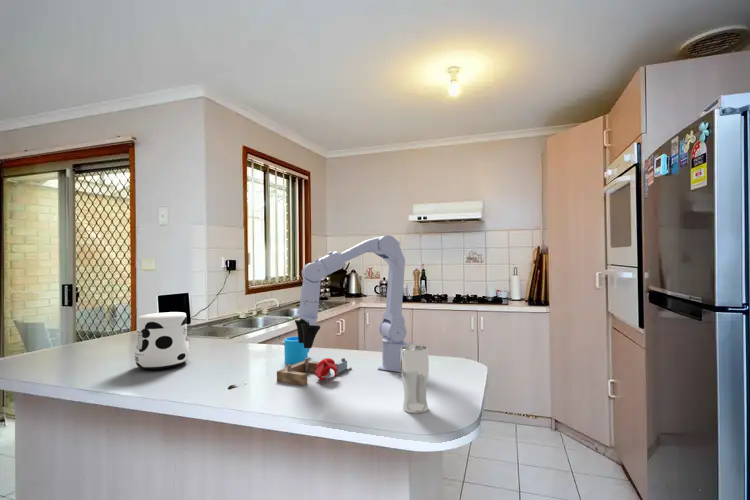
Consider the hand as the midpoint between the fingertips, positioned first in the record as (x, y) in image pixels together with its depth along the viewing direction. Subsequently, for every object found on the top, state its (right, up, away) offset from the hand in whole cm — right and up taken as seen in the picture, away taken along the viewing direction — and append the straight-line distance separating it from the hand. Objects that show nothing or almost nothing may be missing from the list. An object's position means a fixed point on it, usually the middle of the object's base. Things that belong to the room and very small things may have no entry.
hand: (304, 345), depth 125 cm
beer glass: (+32, -10, -26) cm, 42 cm away
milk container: (-53, -12, +19) cm, 58 cm away
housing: (+3, -10, +4) cm, 11 cm away
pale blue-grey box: (+11, -10, +6) cm, 16 cm away
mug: (-6, -11, +23) cm, 26 cm away
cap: (+7, -10, -2) cm, 12 cm away
